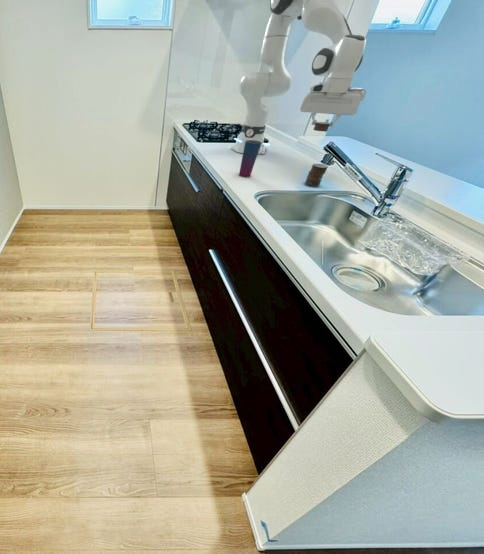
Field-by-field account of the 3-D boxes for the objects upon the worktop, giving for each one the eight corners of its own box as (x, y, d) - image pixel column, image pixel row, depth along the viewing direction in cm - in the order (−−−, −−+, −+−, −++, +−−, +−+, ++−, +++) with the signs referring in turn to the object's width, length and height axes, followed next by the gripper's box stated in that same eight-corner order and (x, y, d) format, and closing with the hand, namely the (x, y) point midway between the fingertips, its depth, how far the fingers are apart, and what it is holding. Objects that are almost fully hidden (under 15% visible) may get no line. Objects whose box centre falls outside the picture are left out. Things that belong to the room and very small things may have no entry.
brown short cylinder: (314, 128, 130) (316, 121, 128) (327, 130, 127) (330, 122, 125) (312, 130, 126) (315, 123, 124) (326, 131, 124) (329, 124, 122)
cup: (253, 178, 138) (263, 143, 129) (238, 177, 139) (246, 143, 130) (250, 173, 143) (260, 140, 134) (236, 172, 145) (244, 139, 135)
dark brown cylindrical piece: (305, 181, 135) (313, 162, 129) (320, 184, 132) (328, 165, 127) (303, 185, 131) (310, 165, 126) (318, 188, 128) (326, 168, 123)
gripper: (368, 87, 115) (351, 127, 123) (309, 85, 124) (297, 122, 132) (367, 88, 110) (350, 129, 119) (306, 86, 120) (294, 124, 128)
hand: (321, 125), depth 126 cm, fingers closed on brown short cylinder, 5 cm apart
